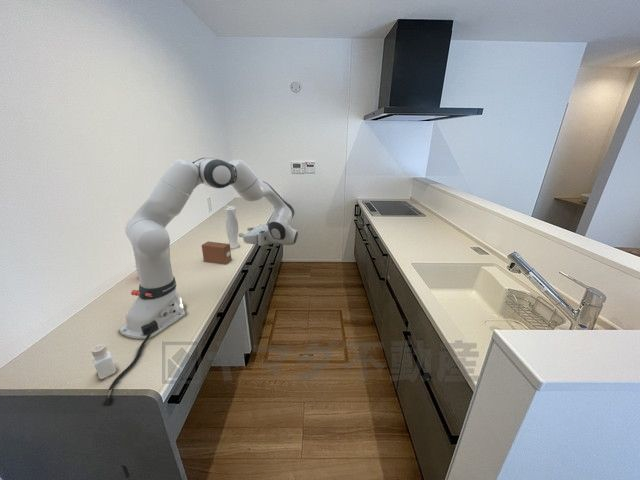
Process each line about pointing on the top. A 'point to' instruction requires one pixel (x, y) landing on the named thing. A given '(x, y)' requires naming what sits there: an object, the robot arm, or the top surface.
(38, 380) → the top surface
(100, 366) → the pepper shaker
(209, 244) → the reddish brown block
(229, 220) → the white baluster column
